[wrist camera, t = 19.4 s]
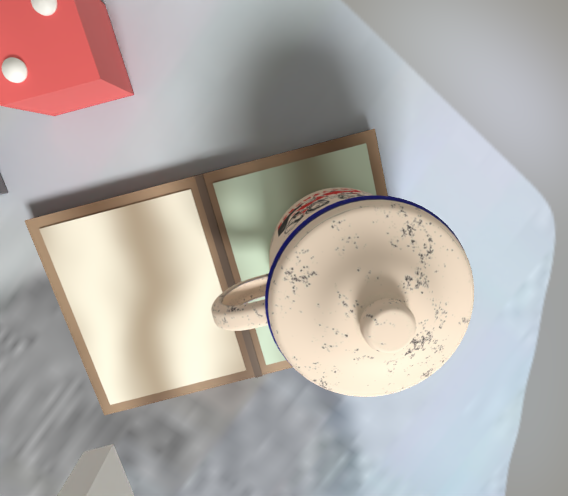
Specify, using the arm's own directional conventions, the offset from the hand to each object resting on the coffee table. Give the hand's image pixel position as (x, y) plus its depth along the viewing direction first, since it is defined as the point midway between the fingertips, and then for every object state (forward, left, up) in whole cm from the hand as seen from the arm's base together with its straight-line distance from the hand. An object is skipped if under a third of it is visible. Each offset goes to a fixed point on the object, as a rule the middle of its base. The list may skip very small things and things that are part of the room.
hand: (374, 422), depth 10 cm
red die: (-10, +15, -17) cm, 25 cm away
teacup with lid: (0, 0, -16) cm, 16 cm away
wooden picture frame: (-5, 0, -17) cm, 18 cm away
